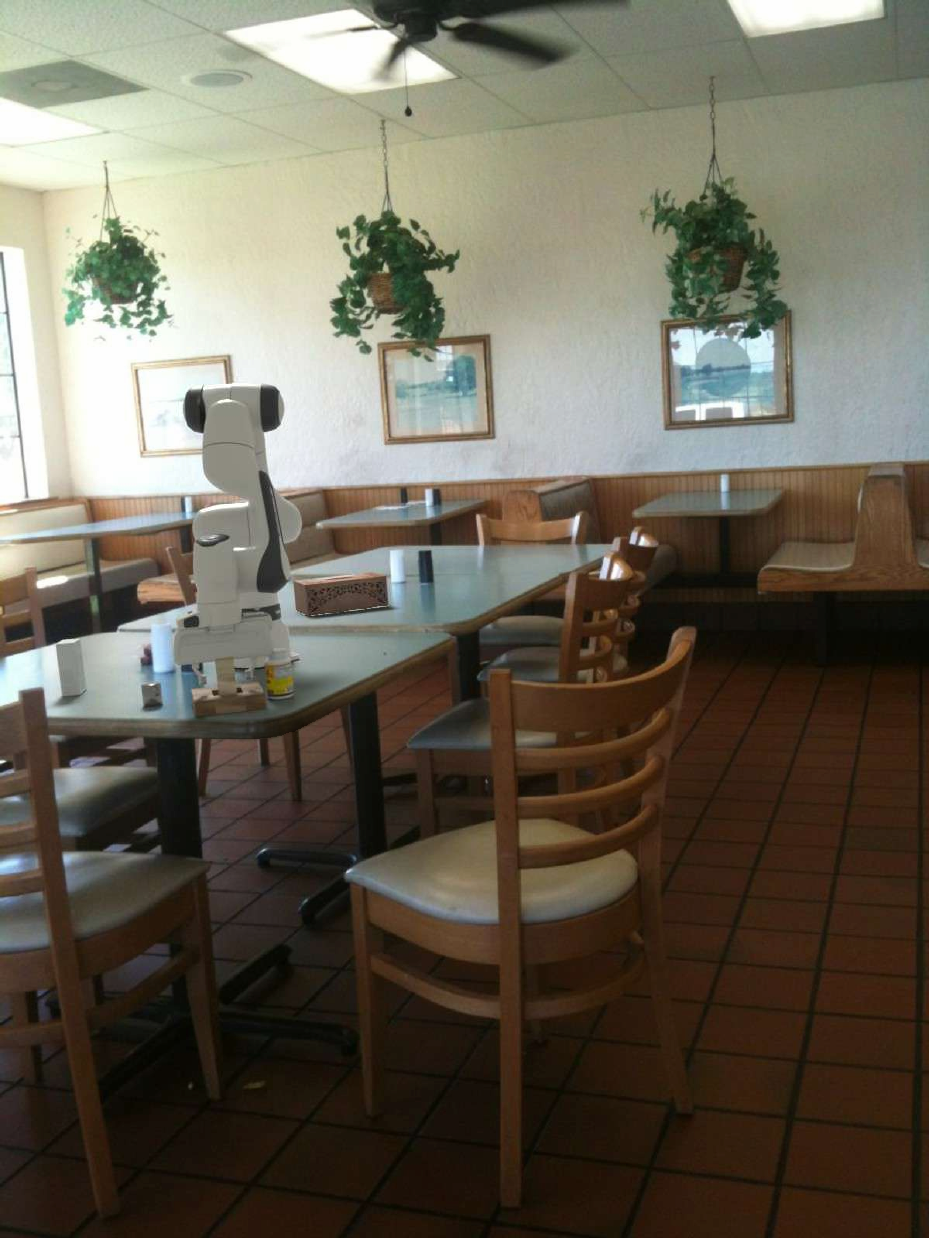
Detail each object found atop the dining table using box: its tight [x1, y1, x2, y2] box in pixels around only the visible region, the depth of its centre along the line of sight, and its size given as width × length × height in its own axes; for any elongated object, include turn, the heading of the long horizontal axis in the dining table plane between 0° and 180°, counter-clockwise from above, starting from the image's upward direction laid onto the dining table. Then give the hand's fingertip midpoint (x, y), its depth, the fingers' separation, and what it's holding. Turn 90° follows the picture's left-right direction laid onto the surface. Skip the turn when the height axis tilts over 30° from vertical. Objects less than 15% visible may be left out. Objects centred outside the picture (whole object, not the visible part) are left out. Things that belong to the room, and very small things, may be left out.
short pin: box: [140, 681, 164, 708], centre depth 264 cm, size 4×4×4 cm
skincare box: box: [55, 638, 87, 697], centre depth 282 cm, size 6×4×12 cm
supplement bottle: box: [264, 648, 295, 701], centre depth 263 cm, size 6×6×10 cm
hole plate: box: [190, 681, 267, 718], centre depth 258 cm, size 14×14×3 cm
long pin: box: [214, 657, 237, 695], centre depth 258 cm, size 4×4×11 cm
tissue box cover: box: [292, 571, 389, 616], centre depth 389 cm, size 26×14×10 cm, turn 111°
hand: (226, 681), depth 258 cm, fingers open, 8 cm apart
